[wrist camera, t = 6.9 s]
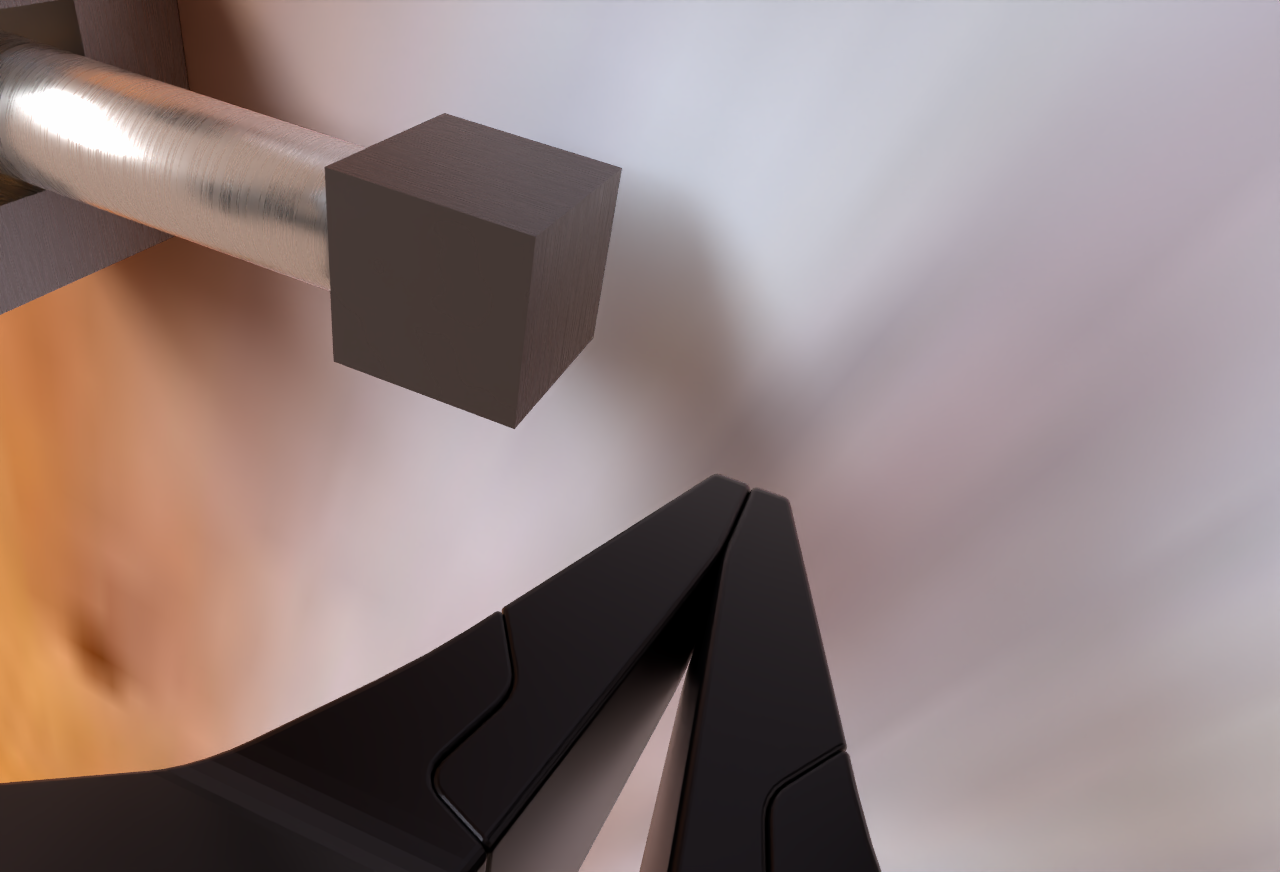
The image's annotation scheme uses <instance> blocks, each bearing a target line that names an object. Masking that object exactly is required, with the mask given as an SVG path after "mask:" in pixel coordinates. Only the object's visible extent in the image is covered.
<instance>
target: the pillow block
mask: <svg viewBox="0 0 1280 872" xmlns="http://www.w3.org/2000/svg"><path fill="white" fill-rule="evenodd" d="M0 30H4V31H7V32H10V33H13V34H16V35H19V36H22V37H25V38H28V39H31V40H35V41H38V42H41V43H44V44H47V45H50V46H53V47H56V48H59V49H62V50H65V51H69V52H72V53H75V54H78V55H81V56H84V57H87V58H90V59H93V60H96V61H100V62H103V63H106V64H109V65H112V66H115V67H118V68H121V69H124V70H127V71H130V72H134V73H137V74H140V75H143V76H146V77H149V78H152V79H155V80H158V81H161V82H164V83H168V84H171V85H174V86H177V87H180V88H183V89H186V90H189V87H188V80H187V72H186V65H185V58H184V51H183V44H182V36H181V29H180V22H179V15H178V8H177V1H176V0H0ZM172 237H174V235H172V234H169V233H166V232H163V231H161V230H158V229H155V228H152V227H149V226H147V225H144V224H141V223H138V222H135V221H133V220H130V219H127V218H124V217H121V216H119V215H116V214H113V213H110V212H108V211H105V210H102V209H99V208H96V207H94V206H91V205H88V204H85V203H82V202H80V201H77V200H74V199H71V198H69V197H66V196H63V195H60V194H57V193H55V192H52V191H49V190H46V189H43V188H41V187H38V186H35V185H32V184H29V183H27V182H24V181H21V180H18V179H16V178H13V177H10V176H7V175H4V174H2V173H0V315H1V314H3V313H5V312H7V311H10V310H12V309H14V308H16V307H19V306H21V305H23V304H25V303H27V302H30V301H32V300H34V299H36V298H39V297H41V296H43V295H45V294H47V293H50V292H52V291H54V290H56V289H58V288H61V287H63V286H65V285H67V284H70V283H72V282H74V281H76V280H78V279H81V278H83V277H85V276H87V275H90V274H92V273H94V272H96V271H98V270H101V269H103V268H105V267H107V266H109V265H112V264H114V263H116V262H118V261H121V260H123V259H125V258H127V257H129V256H132V255H134V254H136V253H138V252H141V251H143V250H145V249H147V248H149V247H152V246H154V245H156V244H158V243H161V242H163V241H165V240H167V239H169V238H172Z"/></svg>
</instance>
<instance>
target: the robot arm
mask: <svg viewBox="0 0 1280 872" xmlns="http://www.w3.org/2000/svg"><path fill="white" fill-rule="evenodd" d="M691 656H692V657H691ZM690 659H691V660H690ZM689 661H690V663H689ZM688 663H689V666H688ZM687 666H688V670H687V673H686V677H685V680H684V684H683V688H682V692H681V696H680V700H679V704H678V709H677V713H676V717H675V721H674V726H673V730H672V734H671V739H670V743H669V747H668V752H667V756H666V760H665V764H664V769H663V773H662V777H661V782H660V786H659V790H658V794H657V799H656V803H655V807H654V812H653V816H652V820H651V825H650V829H649V833H648V837H647V842H646V846H645V850H644V855H643V859H642V863H641V867H640V872H881V869H880V866H879V863H878V860H877V857H876V854H875V851H874V848H873V845H872V842H871V838H870V835H869V831H868V827H867V823H866V820H865V816H864V812H863V809H862V805H861V801H860V798H859V794H858V790H857V786H856V782H855V777H854V773H853V769H852V765H851V760H850V756H849V754H848V753H847V752H845V751H846V749H847V745H846V741H845V736H844V732H843V728H842V723H841V719H840V715H839V711H838V706H837V702H836V698H835V693H834V689H833V685H832V681H831V676H830V672H829V668H828V664H827V659H826V655H825V651H824V646H823V642H822V638H821V634H820V629H819V625H818V621H817V616H816V612H815V608H814V604H813V599H812V595H811V591H810V587H809V582H808V578H807V574H806V569H805V565H804V561H803V557H802V552H801V548H800V544H799V540H798V535H797V531H796V527H795V522H794V518H793V514H792V510H791V505H790V503H789V501H788V499H787V498H785V497H783V496H780V495H777V494H775V493H772V492H769V491H766V490H763V489H760V488H753V489H752V490H751V491H750V488H749V486H748V485H747V484H746V483H743V482H741V481H738V480H735V479H732V478H729V477H726V476H724V475H721V474H714V475H712V476H710V477H709V478H707V479H705V480H704V481H702V482H701V483H699V484H697V485H696V486H694V487H693V488H691V489H690V490H688V491H686V492H685V493H683V494H682V495H680V496H679V497H677V498H675V499H674V500H672V501H671V502H669V503H668V504H666V505H664V506H663V507H661V508H660V509H658V510H656V511H655V512H653V513H652V514H650V515H649V516H647V517H645V518H644V519H642V520H641V521H639V522H638V523H636V524H634V525H633V526H631V527H630V528H628V529H627V530H625V531H623V532H622V533H620V534H619V535H617V536H615V537H614V538H612V539H611V540H609V541H608V542H606V543H604V544H603V545H601V546H600V547H598V548H597V549H595V550H593V551H592V552H590V553H589V554H587V555H585V556H584V557H582V558H581V559H579V560H578V561H576V562H574V563H573V564H571V565H570V566H568V567H567V568H565V569H563V570H562V571H560V572H559V573H557V574H555V575H554V576H552V577H551V578H549V579H548V580H546V581H544V582H543V583H541V584H540V585H538V586H537V587H535V588H533V589H532V590H530V591H529V592H527V593H525V594H524V595H522V596H521V597H519V598H518V599H516V600H514V601H513V602H511V603H510V604H508V605H507V606H505V607H504V608H503V609H502V613H501V612H499V611H497V612H495V613H493V614H492V615H490V616H488V617H487V618H485V619H484V620H482V621H481V622H479V623H478V624H476V625H475V626H473V627H471V628H470V629H468V630H466V631H465V632H463V633H461V634H460V635H458V636H456V637H455V638H453V639H451V640H449V641H448V642H446V643H444V644H443V645H441V646H439V647H438V648H436V649H434V650H433V651H431V652H429V653H427V654H426V655H424V656H422V657H420V658H418V659H416V660H414V661H412V662H410V663H408V664H406V665H404V666H402V667H400V668H398V669H396V670H394V671H393V672H391V673H389V674H387V675H385V676H383V677H381V678H379V679H377V680H375V681H373V682H371V683H369V684H367V685H365V686H363V687H361V688H359V689H356V690H354V691H352V692H350V693H348V694H346V695H344V696H342V697H340V698H338V699H336V700H334V701H332V702H330V703H327V704H325V705H323V706H321V707H319V708H317V709H315V710H313V711H311V712H309V713H307V714H305V715H303V716H301V717H299V718H296V719H294V720H292V721H290V722H288V723H286V724H284V725H282V726H280V727H278V728H276V729H274V730H272V731H270V732H267V733H265V734H263V735H261V736H259V737H257V738H255V739H253V740H251V741H249V742H246V743H244V744H242V745H240V746H237V747H235V748H233V749H231V750H228V751H225V752H222V753H220V754H217V755H214V756H212V757H209V758H206V759H202V760H199V761H195V762H192V763H188V764H185V765H181V766H176V767H171V768H166V769H161V770H152V771H142V772H130V773H118V774H106V775H94V776H82V777H70V778H58V779H46V780H34V781H22V782H10V783H0V872H578V871H579V869H580V867H581V865H582V863H583V861H584V860H585V858H586V856H587V854H588V852H589V850H590V848H591V847H592V845H593V843H594V841H595V839H596V837H597V835H598V834H599V832H600V830H601V828H602V826H603V824H604V822H605V821H606V819H607V817H608V815H609V813H610V811H611V810H612V808H613V806H614V804H615V802H616V800H617V798H618V797H619V795H620V793H621V791H622V789H623V787H624V785H625V784H626V782H627V780H628V778H629V776H630V774H631V772H632V771H633V769H634V767H635V765H636V763H637V761H638V759H639V758H640V756H641V754H642V752H643V750H644V748H645V746H646V745H647V743H648V741H649V739H650V737H651V735H652V733H653V732H654V730H655V728H656V726H657V724H658V722H659V721H660V719H661V717H662V715H663V713H664V711H665V709H666V708H667V706H668V704H669V702H670V700H671V698H672V696H673V695H674V693H675V691H676V689H677V687H678V685H679V683H680V681H681V679H682V677H683V675H684V673H685V670H686V668H687Z"/></svg>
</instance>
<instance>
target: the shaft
mask: <svg viewBox="0 0 1280 872" xmlns="http://www.w3.org/2000/svg"><path fill="white" fill-rule="evenodd" d="M621 170H622V168H620V167H617V166H613V165H610V164H607V163H604V162H600V161H597V160H594V159H591V158H588V157H584V156H581V155H578V154H575V153H571V152H568V151H565V150H562V149H558V148H555V147H552V146H549V145H546V144H542V143H539V142H536V141H533V140H529V139H526V138H523V137H520V136H517V135H513V134H510V133H507V132H504V131H500V130H497V129H494V128H491V127H488V126H484V125H481V124H478V123H475V122H471V121H468V120H465V119H462V118H458V117H455V116H452V115H449V114H446V113H444V114H442V115H439V116H437V117H435V118H433V119H430V120H428V121H426V122H424V123H421V124H419V125H417V126H415V127H413V128H410V129H408V130H406V131H404V132H401V133H399V134H397V135H395V136H392V137H390V138H388V139H386V140H384V141H381V142H379V143H377V144H375V145H372V146H370V147H368V148H366V147H363V146H359V145H356V144H353V143H350V142H347V141H344V140H341V139H338V138H335V137H332V136H328V135H325V134H322V133H319V132H316V131H313V130H310V129H307V128H304V127H301V126H298V125H294V124H291V123H288V122H285V121H282V120H279V119H276V118H273V117H270V116H267V115H264V114H260V113H257V112H254V111H251V110H248V109H245V108H242V107H239V106H236V105H233V104H229V103H226V102H223V101H220V100H217V99H214V98H211V97H208V96H205V95H202V94H199V93H195V92H192V91H189V90H186V89H183V88H180V87H177V86H174V85H171V84H168V83H164V82H161V81H158V80H155V79H152V78H149V77H146V76H143V75H140V74H137V73H134V72H130V71H127V70H124V69H121V68H118V67H115V66H112V65H109V64H106V63H103V62H100V61H96V60H93V59H90V58H87V57H84V56H81V55H78V54H75V53H72V52H69V51H65V50H62V49H59V48H56V47H53V46H50V45H47V44H44V43H41V42H38V41H35V40H31V39H28V38H25V37H22V36H19V35H16V34H13V33H10V32H7V31H4V30H0V173H2V174H4V175H7V176H10V177H13V178H16V179H18V180H21V181H24V182H27V183H29V184H32V185H35V186H38V187H41V188H43V189H46V190H49V191H52V192H55V193H57V194H60V195H63V196H66V197H69V198H71V199H74V200H77V201H80V202H82V203H85V204H88V205H91V206H94V207H96V208H99V209H102V210H105V211H108V212H110V213H113V214H116V215H119V216H121V217H124V218H127V219H130V220H133V221H135V222H138V223H141V224H144V225H147V226H149V227H152V228H155V229H158V230H161V231H163V232H166V233H169V234H172V235H174V236H177V237H180V238H183V239H186V240H188V241H191V242H194V243H197V244H200V245H202V246H205V247H208V248H211V249H214V250H216V251H219V252H222V253H225V254H227V255H230V256H233V257H236V258H239V259H241V260H244V261H247V262H250V263H253V264H255V265H258V266H261V267H264V268H267V269H269V270H272V271H275V272H278V273H280V274H283V275H286V276H289V277H292V278H294V279H297V280H300V281H303V282H306V283H308V284H311V285H314V286H317V287H319V288H322V289H325V290H328V291H330V292H331V313H332V334H333V354H334V362H337V363H340V364H342V365H345V366H348V367H350V368H353V369H356V370H358V371H361V372H364V373H366V374H369V375H372V376H374V377H377V378H380V379H382V380H385V381H388V382H390V383H393V384H396V385H398V386H401V387H404V388H406V389H409V390H412V391H414V392H417V393H420V394H422V395H425V396H428V397H430V398H433V399H436V400H438V401H441V402H444V403H446V404H449V405H452V406H454V407H457V408H460V409H462V410H465V411H468V412H470V413H473V414H476V415H478V416H481V417H484V418H486V419H489V420H492V421H494V422H497V423H500V424H503V425H505V426H508V427H511V428H513V429H515V428H516V427H517V425H518V424H519V423H520V422H521V421H522V420H523V419H524V417H525V416H526V415H527V414H528V413H529V412H530V410H531V409H532V408H533V407H534V406H535V405H536V403H537V402H538V401H539V400H540V399H541V398H542V397H543V395H544V394H545V393H546V392H547V391H548V390H549V388H550V387H551V386H552V385H553V384H554V383H555V381H556V380H557V379H558V378H559V377H560V376H561V375H562V373H563V372H564V371H565V370H566V369H567V368H568V366H569V365H570V364H571V363H572V362H573V361H574V360H575V358H576V357H577V356H578V355H579V354H580V353H581V351H582V350H583V349H584V348H585V347H586V346H587V344H588V343H589V342H590V341H591V340H592V339H593V336H594V330H595V324H596V318H597V313H598V307H599V301H600V295H601V289H602V283H603V277H604V271H605V265H606V259H607V253H608V247H609V241H610V235H611V229H612V224H613V218H614V212H615V206H616V200H617V194H618V188H619V182H620V176H621Z"/></svg>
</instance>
